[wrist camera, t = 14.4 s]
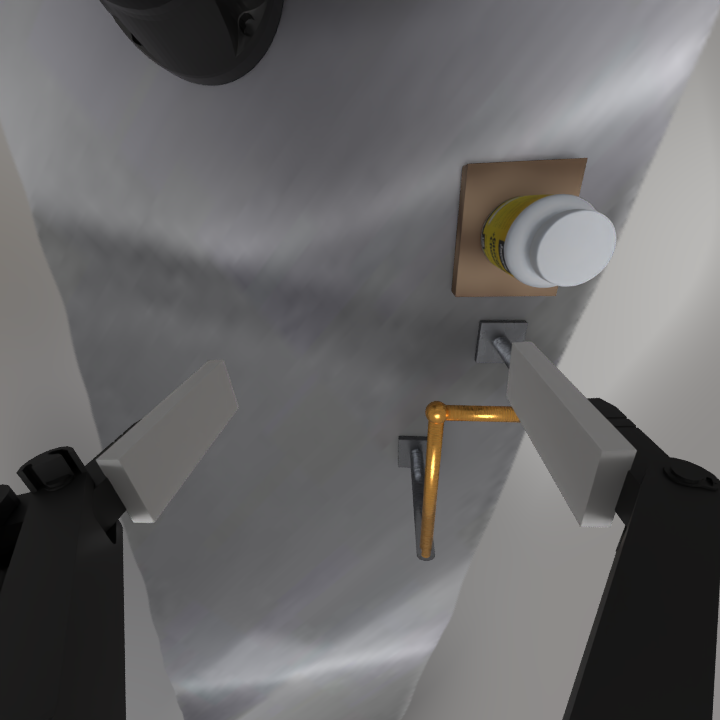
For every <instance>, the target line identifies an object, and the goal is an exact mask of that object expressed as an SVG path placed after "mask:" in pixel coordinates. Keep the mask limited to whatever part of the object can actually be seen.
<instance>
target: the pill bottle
mask: <svg viewBox="0 0 720 720" xmlns="http://www.w3.org/2000/svg"><path fill="white" fill-rule="evenodd" d="M481 245H482V250H483V252H484V254H485V256H486V258H487V259H488V260H489V261H490V262H491V263H492V264H493V265H495V266H496V267H498V268H499V269H501V270H503V271H504V272H506V273H507V274H509V275H511V276H512V277H514V278H515V279H517V280H519V281H520V282H522V283H524V284H526V285H528V286H532V287H537V288H549V287H555V286H575V285H579V284H582V283H584V282H587V281H589V280H590V279H592V278H593V277H595V276H596V275H597V274H599V273H600V272H601V271H602V270H603V269H604V268H605V266H606V265H607V264H608V262H609V261H610V259H611V257H612V255H613V253H614V250H615V246H616V232H615V228H614V226H613V224H612V222H611V221H610V220H609V219H608V218H607V217H606V216H605V215H603V214H602V213H599V212H597V211H596V210H595V209H594V207H593V206H592V205H591V204H590V203H589V202H587V201H586V200H584V199H582V198H580V197H578V196H574V195H569V194H548V195H529V196H518V197H514V198H511V199H509V200H506V201H505V202H503V203H501V204H500V205H499V206H497V207H496V208H495V209H494V210H493V211H492V212H491V214H490V215H489V216H488V218H487V220H486V221H485V223H484V226H483V229H482V234H481Z"/></svg>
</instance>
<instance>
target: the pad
mask: <svg viewBox="0 0 720 720" xmlns="http://www.w3.org/2000/svg"><path fill="white" fill-rule="evenodd" d="M586 163H587V158H576V159H556V160H535V161H515V162H494V163H474V164H467V165H465V166H463V168H462V179H461V190H460V202H459V213H458V224H457V235H456V247H455V258H454V269H453V280H452V292H453V294H454V295H455V297H484V296H556V293H557V289H558V286H555V287H549V288H537V287H532V286H528V285H526V284H524V283H522V282H520V281H519V280H517V279H515V278H514V277H512V276H511V275H509V274H507V273H506V272H504V271H503V270H501V269H499V268H498V267H496V266H495V265H493V264H492V263H491V262H490V261H489V260H488V259H487V258H486V256H485V254H484V252H483V250H482V245H481V234H482V229H483V226H484V223H485V221H486V220H487V218H488V216H489V215H490V214H491V212H492V211H493V210H494V209H495V208H496V207H497V206H499V205H500V204H501V203H503V202H505V201H506V200H509V199H511V198H514V197H518V196H529V195H548V194H569V195H574V196H578V197H579V193H580V189H581V184H582V180H583V176H584V171H585V167H586Z"/></svg>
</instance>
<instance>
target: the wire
mask: <svg viewBox="0 0 720 720" xmlns="http://www.w3.org/2000/svg"><path fill="white" fill-rule="evenodd" d="M527 324H528V323H527V322H526V321H480V324H479V331H478V339H477V346H476V354H475V361H476V363H505V364H506V366H507V367H508V368H510V359H511V349H512V342H524V339H525V334H526V329H527ZM425 414H426V417H427V419H428V420H429V422H428V436H427V437H413V436H399V451H398V467H408V468H411V477H412V491H413V506H414V521H415V535H416V550H417V557H418V558H419V559H421V560H424V561H429V560H432V559H433V558H434V557H435V551H434V543H433V532H434V521H435V511H436V500H437V490H438V479H439V469H440V458H441V448H442V437H443V427H444V422H445V421H446V420H448V421H486V422H520V420H519V418H518V417H517V415H516V413H515V411H514V410H513V408H512V407H511V406H465V405H445V404H444V403H442V402H440V401H434V402H431V403H430V404H428V406H427V407H426V411H425Z"/></svg>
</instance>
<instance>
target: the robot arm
mask: <svg viewBox="0 0 720 720" xmlns="http://www.w3.org/2000/svg"><path fill="white" fill-rule="evenodd" d="M100 2H101V3H102V4H103V6H104V7H105V8H106V10H107V11H108V12H109V13H110V14H111V15H112V16H113V18H114V19H115V21H116V22H117V24H118V25H119V26H120V28H121V29H122V30H123V32H124V33H125V34H126V35H127V37H128V38H129V39H130V40H131V41H132V42H133V43H134V44H135V45H136V46H137V47H138V48H139V49H140V50H141V51H142V52H143V53H144V54H145V55H146V56H147V57H149V58H150V59H151V60H152V61H154V62H155V63H157V64H158V65H160V66H161V67H163V68H165V69H166V70H168V71H170V72H171V73H173V74H175V75H176V76H178V77H180V78H182V79H184V80H187V81H190V82H193V83H196V84H202V85H220V84H225V83H229V82H231V81H234V80H236V79H238V78H240V77H242V76H243V75H245V74H246V73H247V72H249V71H250V70H251V69H252V68H253V67H254V66H255V65H256V64H257V63H258V62H259V61H260V59H261V58H262V57H263V55H264V54H265V52H266V51H267V49H268V47H269V46H270V43H271V41H272V39H273V37H274V35H275V32H276V29H277V26H278V23H279V20H280V16H281V11H282V6H283V0H100ZM506 397H507V399H508V401H509V403H510V404H511V406H512V408H513V410H514V411H515V413H516V415H517V417H518V418H519V420H520V422H521V424H522V425H523V427H524V429H525V431H526V432H527V434H528V436H529V438H530V439H531V441H532V443H533V445H534V446H535V448H536V450H537V451H538V453H539V455H540V457H541V458H542V460H543V462H544V464H545V466H546V467H547V469H548V471H549V473H550V474H551V476H552V478H553V479H554V481H555V483H556V485H557V487H558V488H559V490H560V492H561V494H562V495H563V497H564V499H565V500H566V502H567V504H568V506H569V508H570V509H571V511H572V513H573V514H574V516H575V518H576V520H577V522H578V523H579V525H580V527H611V524H612V521H613V518H614V515H615V512H616V513H617V514H618V516H619V517H620V518H621V520H622V521H623V523H624V524H625V528H624V530H623V533H622V536H621V538H620V542H619V544H618V547H617V549H616V555H615V558H614V561H613V564H612V567H611V570H610V573H609V577H608V580H607V583H606V586H605V589H604V592H603V595H602V598H601V602H600V604H599V608H598V611H597V614H596V617H595V620H594V624H593V626H592V630H591V633H590V636H589V639H588V642H587V645H586V648H585V651H584V654H583V657H582V660H581V663H580V667H579V670H578V673H577V676H576V679H575V682H574V686H573V689H572V692H571V695H570V698H569V701H568V704H567V707H566V710H565V714H564V716H563V719H562V720H712V713H713V696H714V678H715V659H716V642H717V624H718V606H719V588H720V480H719V479H717V478H716V476H715V475H713V474H712V473H710V472H709V471H707V470H705V469H704V468H702V467H700V466H698V465H696V464H693V463H691V462H688V461H685V460H681V459H677V458H670V457H669V456H668V455H667V454H666V453H664V451H663V450H661V449H660V448H659V447H658V446H657V445H656V444H655V443H654V442H653V441H652V440H651V439H650V438H649V437H648V436H646V435H645V434H644V433H643V432H642V431H641V430H640V429H639V428H636V425H635V424H634V423H633V422H632V421H630V420H629V419H627V417H626V416H625V415H624V414H623V413H622V412H621V411H620V410H619V409H618V408H617V407H615V406H613V405H611V404H610V403H608V402H606V401H604V400H602V399H600V398H591V399H590V398H588V399H587V398H586V397H585V396H584V395H583V394H582V393H581V392H580V391H579V390H578V389H577V388H576V387H575V386H574V385H573V384H572V383H571V382H570V381H569V380H568V379H567V378H566V377H565V376H564V375H563V374H562V373H561V371H560V370H559V369H558V368H557V367H556V366H555V365H554V364H553V363H552V362H551V361H550V360H549V359H548V358H547V357H546V356H545V355H544V354H543V353H542V352H541V351H540V350H539V349H538V348H537V347H536V346H535V345H534V344H533V343H532V342H531V341H529V342H512V349H511V359H510V368H509V377H508V386H507V396H506ZM238 408H239V406H238V403H237V400H236V397H235V393H234V390H233V387H232V384H231V381H230V378H229V375H228V372H227V369H226V366H225V363H224V360H209V361H207V362H206V363H205V364H204V365H203V366H202V367H201V368H199V369H198V370H197V371H196V372H195V373H194V374H193V375H192V376H190V377H189V378H188V379H187V380H186V381H185V382H184V383H182V384H181V385H180V386H179V387H178V388H177V389H176V390H175V391H173V392H172V393H171V394H170V395H169V396H168V397H167V398H165V399H164V400H163V401H162V402H161V403H160V404H159V405H157V406H156V407H155V408H154V409H153V410H152V411H151V412H150V413H148V414H147V415H146V416H145V417H144V418H143V419H141V420H139V421H138V422H136V423H134V424H133V425H132V426H131V427H129V428H128V429H127V430H126V431H125V432H124V433H123V435H120V436H119V437H118V438H117V439H116V440H115V442H112V443H111V444H110V445H109V446H108V447H106V448H105V449H104V450H103V451H102V452H101V453H100V454H99V455H97V456H96V457H95V458H94V459H93V460H92V461H90V462H89V463H88V464H87V465H86V466H84V465H83V463H82V462H81V460H80V459H79V457H78V455H77V454H76V452H75V451H74V449H73V448H72V447H68V446H66V447H59V448H55V449H52V450H49V451H46V452H44V453H42V454H40V455H38V456H36V457H34V458H33V459H31V460H29V461H28V462H27V463H25V464H24V465H23V466H21V467H20V469H19V470H18V472H17V474H18V476H19V477H20V478H21V479H22V481H23V482H24V483H25V485H26V486H27V487H28V489H29V490H30V491H31V492H29V493H26V494H21V495H16V494H15V493H14V492H13V490H12V489H11V488H10V487H9V486H8V485H3V484H2V485H0V720H126V703H125V702H126V700H125V698H126V697H125V647H124V645H125V639H124V586H123V585H124V583H123V582H124V581H123V527H122V525H121V523H120V521H119V520H118V519H119V518H120V517H121V515H122V514H123V513H124V512H125V511H127V512H128V514H129V516H130V517H131V519H132V521H133V522H134V523H155V521H156V520H157V519H158V517H159V516H160V515H161V513H162V512H163V510H164V509H165V508H166V506H167V505H168V504H169V502H170V501H171V500H172V498H173V497H174V495H175V494H176V493H177V491H178V490H179V489H180V487H181V486H182V485H183V483H184V482H185V480H186V479H187V478H188V476H189V475H190V474H191V472H192V471H193V470H194V468H195V467H196V465H197V464H198V463H199V461H200V460H201V459H202V457H203V456H204V455H205V453H206V452H207V450H208V449H209V448H210V446H211V445H212V444H213V442H214V441H215V440H216V438H217V437H218V436H219V434H220V433H221V431H222V430H223V429H224V427H225V426H226V425H227V423H228V422H229V421H230V419H231V418H232V416H233V415H234V414H235V412H236V411H237V410H238Z"/></svg>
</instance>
